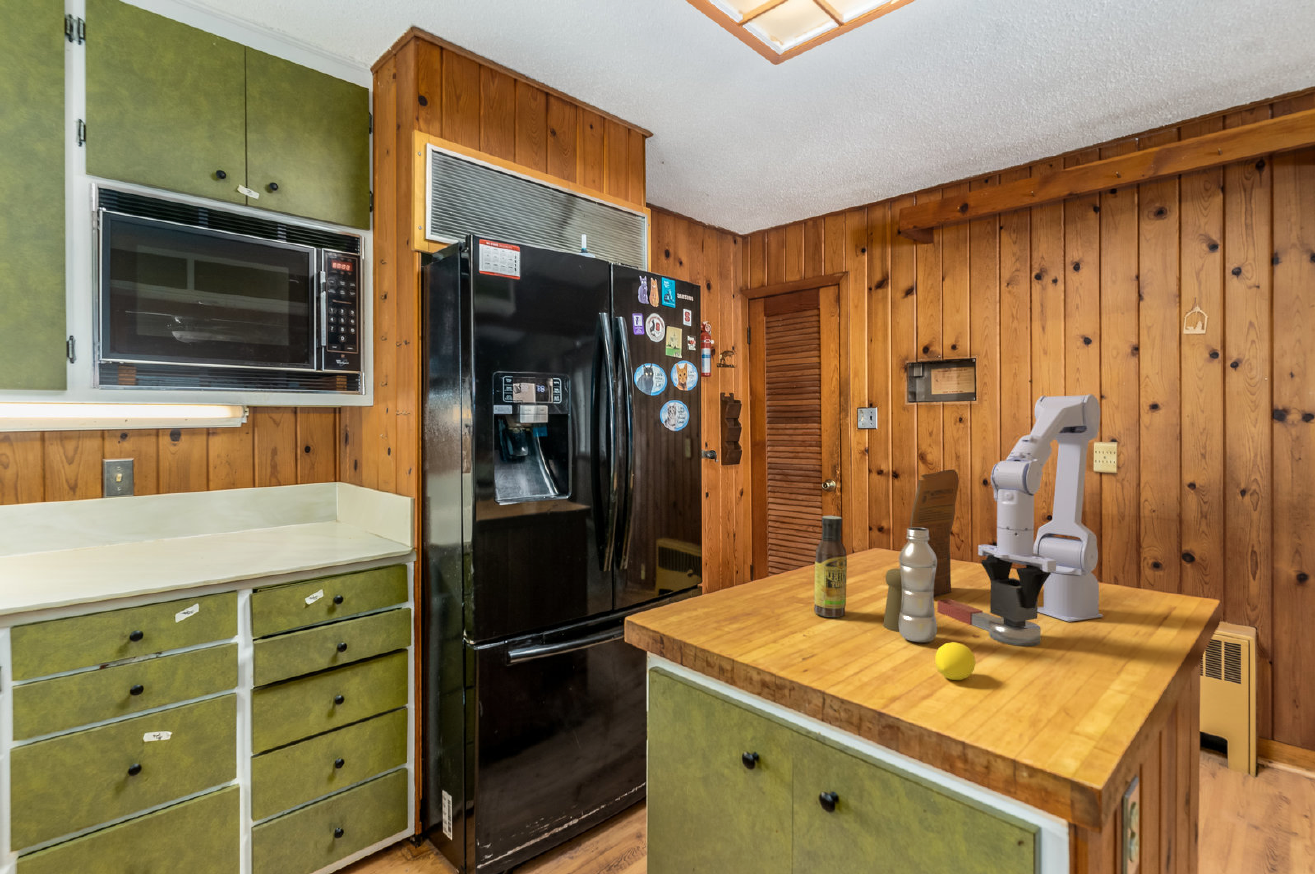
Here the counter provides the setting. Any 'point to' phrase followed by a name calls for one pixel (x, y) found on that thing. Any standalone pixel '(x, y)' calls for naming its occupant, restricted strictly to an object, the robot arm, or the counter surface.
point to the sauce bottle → (830, 570)
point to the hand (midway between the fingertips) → (1014, 603)
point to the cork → (893, 599)
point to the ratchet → (993, 624)
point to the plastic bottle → (917, 587)
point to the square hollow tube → (1010, 601)
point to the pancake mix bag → (937, 520)
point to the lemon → (955, 661)
